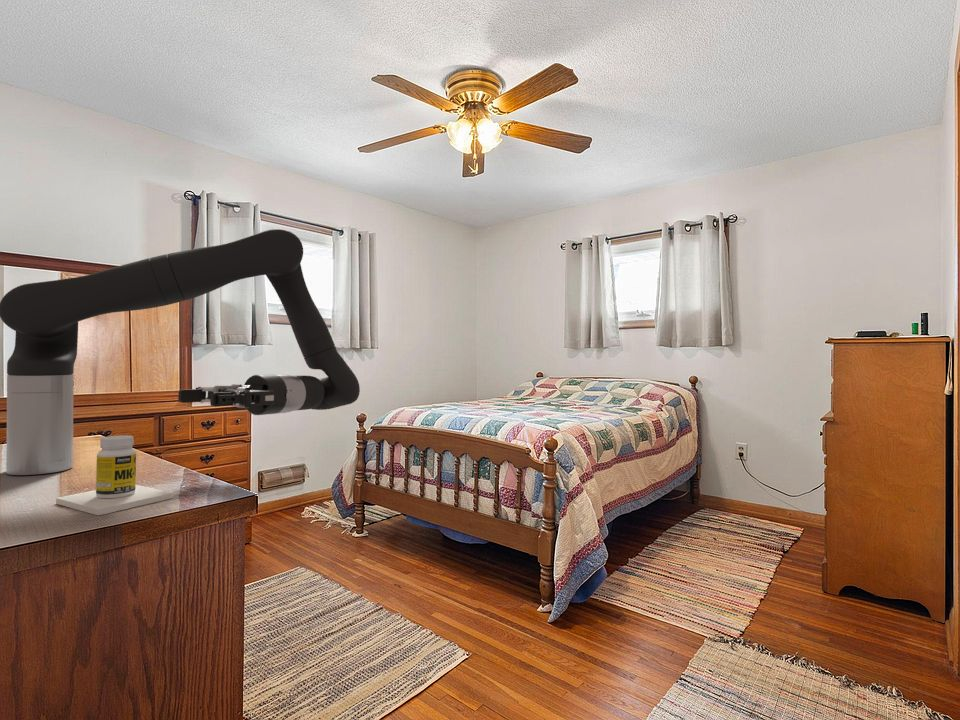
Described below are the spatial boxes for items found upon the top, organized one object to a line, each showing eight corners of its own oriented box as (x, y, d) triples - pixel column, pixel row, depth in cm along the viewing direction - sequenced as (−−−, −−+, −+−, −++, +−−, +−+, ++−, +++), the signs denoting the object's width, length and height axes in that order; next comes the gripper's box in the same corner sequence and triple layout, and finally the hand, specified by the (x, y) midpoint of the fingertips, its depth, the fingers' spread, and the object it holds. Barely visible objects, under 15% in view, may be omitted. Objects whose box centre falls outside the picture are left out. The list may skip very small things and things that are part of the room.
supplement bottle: (115, 500, 74) (116, 440, 74) (87, 498, 75) (88, 438, 75) (143, 491, 79) (144, 435, 79) (116, 489, 80) (117, 434, 80)
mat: (56, 503, 75) (56, 497, 75) (130, 488, 84) (130, 483, 84) (98, 515, 70) (98, 509, 70) (172, 498, 79) (172, 492, 79)
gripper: (250, 373, 105) (170, 373, 91) (302, 376, 98) (224, 377, 84) (249, 410, 105) (168, 417, 91) (301, 416, 98) (222, 424, 84)
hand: (195, 398), depth 88 cm, fingers open, 8 cm apart
